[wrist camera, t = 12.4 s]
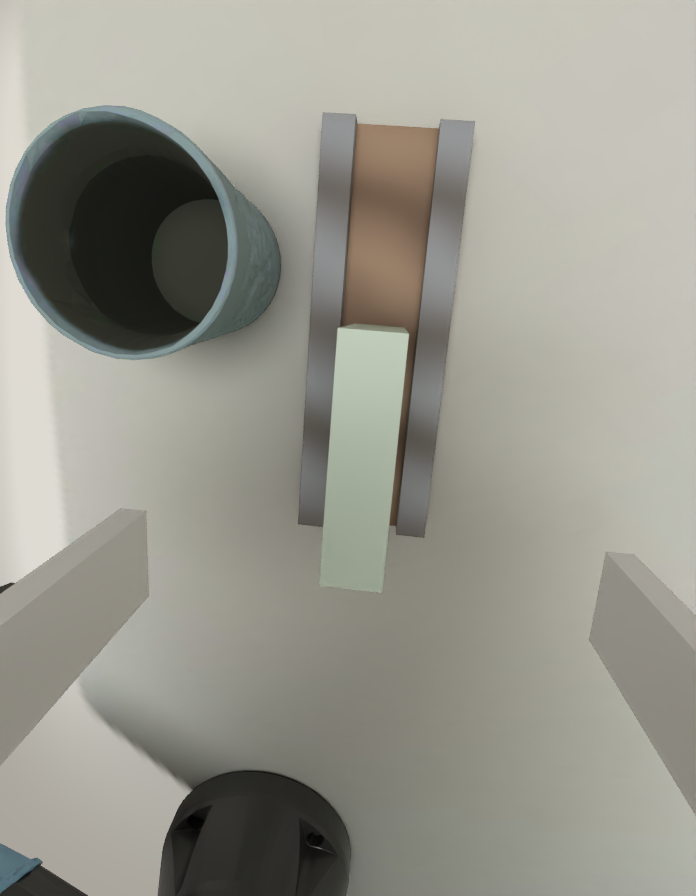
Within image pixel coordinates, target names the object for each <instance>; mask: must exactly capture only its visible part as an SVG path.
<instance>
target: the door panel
mask: <svg viewBox="0 0 696 896" xmlns="http://www.w3.org/2000/svg"><path fill="white" fill-rule="evenodd" d="M408 340H409V333H408V332H407V330H406V329H405V327H394V326H382V325H370V324H358V323H355V324H351V325H347V326H343V327H339V328H338V329H337V343H336V357H335V371H334V385H333V399H332V413H331V426H330V440H329V454H328V468H327V482H326V496H325V510H324V524H323V537H322V551H321V565H320V579H319V586H324V587H333V588H342V589H351V590H359V591H368V592H377V593H382V589H383V579H384V569H385V560H386V550H387V541H388V531H389V522H390V512H391V502H392V493H393V483H394V474H395V464H396V455H397V445H398V435H399V426H400V416H401V407H402V397H403V388H404V378H405V368H406V359H407V349H408Z"/></svg>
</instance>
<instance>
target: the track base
mask: <svg viewBox="0 0 696 896" xmlns="http://www.w3.org/2000/svg"><path fill="white" fill-rule="evenodd" d="M474 126H475V121H462V120H445V119H441V122H440V126H439V129H437V128H421V127H404V126H387V125H370V124H357V119H356V114H342V113H325V112H323V115H322V132H321V149H320V166H319V182H318V199H317V216H316V232H315V249H314V266H313V283H312V299H311V316H310V333H309V350H308V366H307V383H306V400H305V417H304V433H303V450H302V467H301V483H300V500H299V517H298V524H301V525H310V526H319V527H323V524H324V510H325V496H326V482H327V468H328V454H329V440H330V426H331V413H332V399H333V385H334V371H335V357H336V343H337V329H338V328H339V327H343V326H347V325H351V324H355V323H358V324H370V325H382V326H394V327H405V329H406V330H407V332H408V333H409V340H408V349H407V359H406V368H405V378H404V388H403V397H402V407H401V416H400V426H399V435H398V445H397V455H396V464H395V474H394V483H393V493H392V502H391V512H390V522H389V525H393V526H396V535H404V536H413V537H422V538H424V534H425V526H426V518H427V510H428V501H429V493H430V485H431V477H432V469H433V461H434V452H435V444H436V436H437V428H438V420H439V412H440V403H441V395H442V387H443V379H444V371H445V363H446V354H447V346H448V338H449V330H450V322H451V314H452V305H453V297H454V289H455V281H456V273H457V264H458V256H459V248H460V240H461V232H462V224H463V215H464V207H465V199H466V191H467V183H468V175H469V166H470V158H471V150H472V142H473V134H474Z"/></svg>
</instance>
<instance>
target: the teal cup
mask: <svg viewBox="0 0 696 896" xmlns="http://www.w3.org/2000/svg"><path fill="white" fill-rule="evenodd" d="M6 232H7V241H8V246H9V253H10V258H11V261H12V263H13V266H14V269H15V271H16V274H17V277H18V280H19V282H20V283H21V285H22V287H23V289H24V290H25V292H26V294H27V296H28V298H29V299H30V301H31V303H32V304H33V305H34V306H35V308H36V309H37V310H38V311H39V312H40V314H41V315H42V316H43V317H44V318H45V319H46V320H47V322H48V323H49V324H50V325H52V326H53V327H54V328H55V329H56V330H58V331H59V332H60V333H61V334H62V335H64V336H66V337H67V338H69V339H71V340H73V341H74V342H76V343H78V344H80V345H81V346H83V347H85V348H87V349H88V350H90V351H92V352H95V353H99V354H102V355H106V356H109V357H113V358H116V359H129V360H139V359H153V358H157V357H161V356H165V355H168V354H171V353H173V352H176V351H178V350H181V349H183V348H185V347H188V346H190V345H193V344H196V343H198V342H202V341H206V340H208V339H212V338H215V337H217V336H220V335H222V334H225V333H229V332H232V331H235V330H238V329H240V328H242V327H244V326H246V325H248V324H250V323H251V322H253V321H254V320H255V319H257V318H258V317H259V316H260V315H261V314H262V313H263V312H264V311H265V309H266V308H267V307H268V305H269V304H270V302H271V300H272V298H273V296H274V294H275V292H276V289H277V286H278V282H279V277H280V254H279V248H278V243H277V241H276V238H275V235H274V232H273V230H272V229H271V227H270V225H269V223H268V221H267V220H266V219H265V217H264V216H263V215H262V214H261V213H260V211H259V210H258V209H257V208H256V207H255V206H254V205H253V204H252V203H251V202H249V201H248V200H246V198H245V196H244V195H243V194H242V193H241V192H239V191H238V190H237V189H235V188H234V186H233V185H232V184H231V183H230V181H229V180H228V179H227V178H226V177H225V175H224V174H223V173H222V172H221V171H220V170H219V169H218V168H217V167H216V166H215V164H214V163H213V162H212V161H211V160H210V159H209V158H208V157H207V156H206V155H205V154H204V153H203V152H202V151H201V150H200V149H199V148H198V147H197V146H196V144H194V143H193V142H192V141H191V140H190V139H189V138H188V137H187V136H185V135H184V134H183V133H182V132H180V131H179V130H177V129H176V128H175V127H173V126H171V125H169V124H168V123H166V122H164V121H162V120H161V119H159V118H157V117H155V116H153V115H150V114H148V113H146V112H143V111H141V110H137V109H133V108H129V107H125V106H106V105H105V106H98V107H91V108H84V109H81V110H78V111H76V112H73V113H70V114H68V115H65V116H63V117H62V118H60V119H58V120H57V121H55V122H53V123H52V124H50V125H49V126H48V127H47V128H46V129H45V130H44V131H42V132H41V133H40V134H39V135H38V136H37V137H36V138H35V140H34V141H33V142H32V143H31V145H30V146H29V147H28V148H27V150H26V151H25V153H24V155H23V156H22V158H21V160H20V162H19V164H18V166H17V168H16V170H15V173H14V176H13V179H12V181H11V184H10V189H9V194H8V200H7V205H6Z"/></svg>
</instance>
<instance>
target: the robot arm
mask: <svg viewBox="0 0 696 896" xmlns="http://www.w3.org/2000/svg"><path fill="white" fill-rule="evenodd" d="M148 596H149V590H148V556H147V522H146V511H142V510H131V509H120V510H118V511H117V512H115V513H114V514H112V515H111V516H110V517H108V518H107V519H105V520H104V521H103V522H101V523H100V524H98V525H97V526H96V527H94V528H93V529H91V530H90V531H88V532H87V533H86V534H84V535H83V536H81V537H80V538H79V539H77V540H76V541H74V542H73V543H71V544H70V545H69V546H67V547H66V548H64V549H63V550H62V551H60V552H59V553H57V554H56V555H55V556H53V557H52V558H50V559H49V560H47V561H46V562H45V563H43V564H42V565H40V566H39V567H38V568H36V569H35V570H33V571H32V572H31V573H29V574H28V575H26V576H25V577H24V578H22V579H21V580H19V581H18V582H16V583H9V584H7V585H4V586H1V587H0V766H1V764H2V763H3V762H4V761H5V760H6V759H7V758H8V756H9V755H10V754H11V753H12V752H13V751H14V750H15V749H16V747H17V746H18V745H19V744H20V743H21V742H22V741H23V739H24V738H25V737H26V736H27V735H28V734H29V732H30V731H31V730H32V729H33V728H34V727H35V726H36V724H37V723H38V722H39V721H40V720H41V719H42V718H43V716H44V715H45V714H46V713H47V712H48V711H49V710H50V708H51V707H52V706H53V705H54V704H55V703H56V702H57V700H58V699H59V698H60V697H61V696H62V695H63V694H64V692H65V691H66V690H67V689H68V688H69V687H70V685H71V684H72V683H73V682H74V681H75V680H76V679H77V677H78V676H79V675H80V674H81V673H82V672H83V671H84V669H85V668H86V667H87V666H88V665H89V664H90V663H91V661H92V660H93V659H94V658H95V657H96V656H97V655H98V653H99V652H100V651H101V650H102V649H103V648H104V647H105V645H106V644H107V643H108V642H109V641H110V640H111V639H112V637H113V636H114V635H115V634H116V633H117V632H118V631H119V629H120V628H121V627H122V626H123V625H124V624H125V622H126V621H127V620H128V619H129V618H130V617H131V616H132V614H133V613H134V612H135V611H136V610H137V609H138V608H139V606H140V605H141V604H142V603H143V602H144V601H145V600H146V598H147V597H148ZM589 640H590V642H591V644H592V645H593V647H594V649H595V650H596V652H597V654H598V655H599V657H600V659H601V660H602V662H603V664H604V665H605V667H606V669H607V670H608V672H609V673H610V675H611V677H612V678H613V680H614V682H615V683H616V685H617V687H618V688H619V690H620V692H621V693H622V695H623V697H624V698H625V700H626V701H627V703H628V705H629V706H630V708H631V710H632V711H633V713H634V715H635V716H636V718H637V720H638V721H639V723H640V725H641V726H642V728H643V730H644V731H645V733H646V734H647V736H648V738H649V739H650V741H651V743H652V744H653V746H654V748H655V749H656V751H657V753H658V754H659V756H660V758H661V759H662V761H663V762H664V764H665V766H666V767H667V769H668V771H669V772H670V774H671V776H672V777H673V779H674V781H675V782H676V784H677V786H678V787H679V789H680V790H681V792H682V794H683V795H684V797H685V799H686V800H687V802H688V804H689V805H690V807H691V809H692V810H693V812H694V814H695V815H696V615H695V614H694V613H693V612H692V611H691V610H690V609H689V608H688V607H687V606H686V605H685V604H684V603H683V602H682V601H681V600H680V599H679V598H678V597H677V596H676V595H675V594H674V593H673V592H672V591H671V590H670V589H669V588H668V587H667V586H666V585H665V584H664V583H663V582H662V581H661V580H660V579H659V578H658V577H657V576H656V575H655V574H654V573H653V572H652V571H651V570H650V569H649V568H648V567H646V566H645V565H644V564H643V563H642V562H641V561H640V560H639V559H638V558H637V557H636V556H635V555H634V554H623V553H612V552H606V554H605V560H604V565H603V570H602V575H601V580H600V586H599V591H598V596H597V601H596V606H595V612H594V617H593V622H592V627H591V632H590V638H589ZM350 858H351V851H350V843H349V838H348V835H347V832H346V830H345V827H344V825H343V824H342V822H341V820H340V818H339V817H338V815H337V814H336V813H335V811H334V810H333V809H332V808H331V807H330V806H329V805H328V804H327V803H326V802H325V801H324V800H323V799H322V798H321V797H320V796H318V795H317V794H316V793H314V792H313V791H311V790H310V789H308V788H306V787H305V786H303V785H301V784H299V783H297V782H295V781H292V780H290V779H287V778H284V777H281V776H277V775H273V774H268V773H261V772H237V773H230V774H226V775H222V776H218V777H216V778H213V779H211V780H208V781H206V782H205V783H203V784H201V785H200V786H198V787H197V788H195V789H194V790H193V791H192V792H191V793H190V794H188V795H187V797H186V798H185V799H184V800H183V802H182V803H181V805H180V806H179V808H178V810H177V812H176V815H175V817H174V819H173V822H172V824H171V826H170V828H169V831H168V833H167V836H166V839H165V843H164V846H163V851H162V860H161V869H160V880H159V888H158V896H346V892H347V888H348V882H349V871H350ZM41 864H42V861H41V860H40V859H38V858H34V859H29V858H27V857H25V856H24V855H22V854H20V853H18V852H16V851H14V850H12V849H10V848H8V847H6V846H5V845H3V844H1V843H0V896H88V895H86V894H85V893H83V892H81V891H80V890H78V889H77V888H75V887H74V886H72V885H70V884H69V883H67V882H66V881H64V880H63V879H61V878H59V877H58V876H56V875H55V874H53V873H52V872H50V871H48V870H47V869H45V868H44V867H42V866H40V865H41Z"/></svg>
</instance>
